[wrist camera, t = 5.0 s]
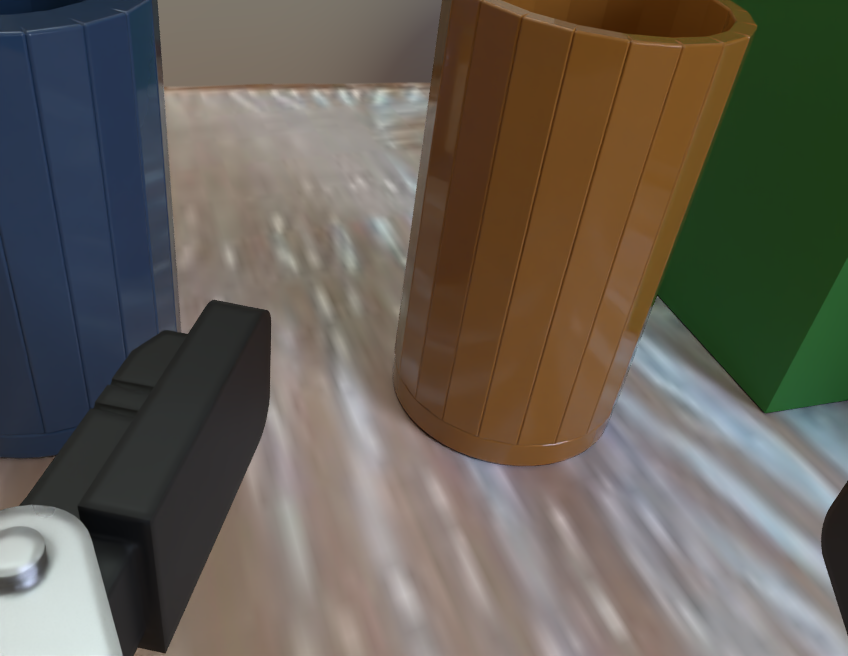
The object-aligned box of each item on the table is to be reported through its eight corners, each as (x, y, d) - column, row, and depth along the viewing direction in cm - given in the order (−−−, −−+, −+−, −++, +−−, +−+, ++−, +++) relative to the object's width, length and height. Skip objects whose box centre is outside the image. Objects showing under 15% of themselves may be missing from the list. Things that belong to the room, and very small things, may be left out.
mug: (117, 484, 19) (49, 60, 13) (-153, 429, 19) (-344, -12, 13) (248, 268, 26) (245, -60, 20) (55, 231, 26) (-4, -104, 20)
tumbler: (533, 303, 27) (625, -48, 20) (655, 432, 22) (824, 39, 16) (358, 339, 24) (396, -54, 17) (457, 494, 20) (561, 50, 13)
